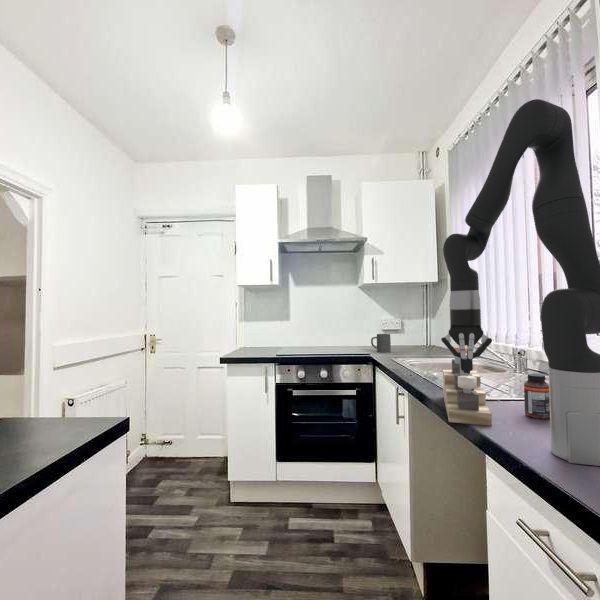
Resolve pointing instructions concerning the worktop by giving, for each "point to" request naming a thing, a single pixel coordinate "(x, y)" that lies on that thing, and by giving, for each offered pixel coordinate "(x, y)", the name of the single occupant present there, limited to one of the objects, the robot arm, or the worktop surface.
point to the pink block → (459, 350)
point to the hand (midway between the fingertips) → (466, 372)
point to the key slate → (457, 361)
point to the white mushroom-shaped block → (467, 383)
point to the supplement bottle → (536, 397)
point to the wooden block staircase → (464, 399)
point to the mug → (382, 343)
